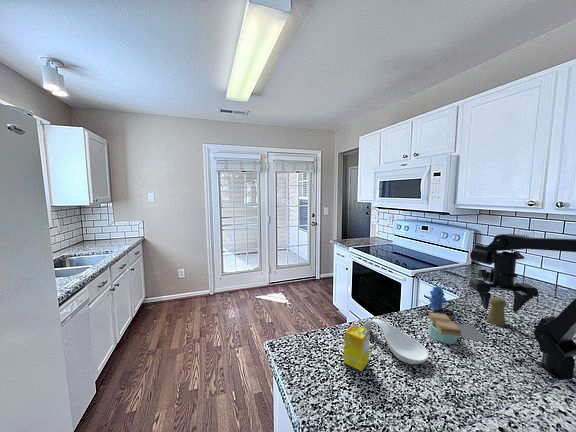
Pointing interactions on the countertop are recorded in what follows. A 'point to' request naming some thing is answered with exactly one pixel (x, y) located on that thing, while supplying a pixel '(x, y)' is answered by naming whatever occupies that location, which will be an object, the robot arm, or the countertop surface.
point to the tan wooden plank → (444, 324)
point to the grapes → (437, 298)
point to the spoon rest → (401, 343)
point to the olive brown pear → (497, 311)
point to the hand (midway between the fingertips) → (500, 310)
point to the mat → (470, 332)
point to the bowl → (441, 335)
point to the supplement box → (356, 348)
